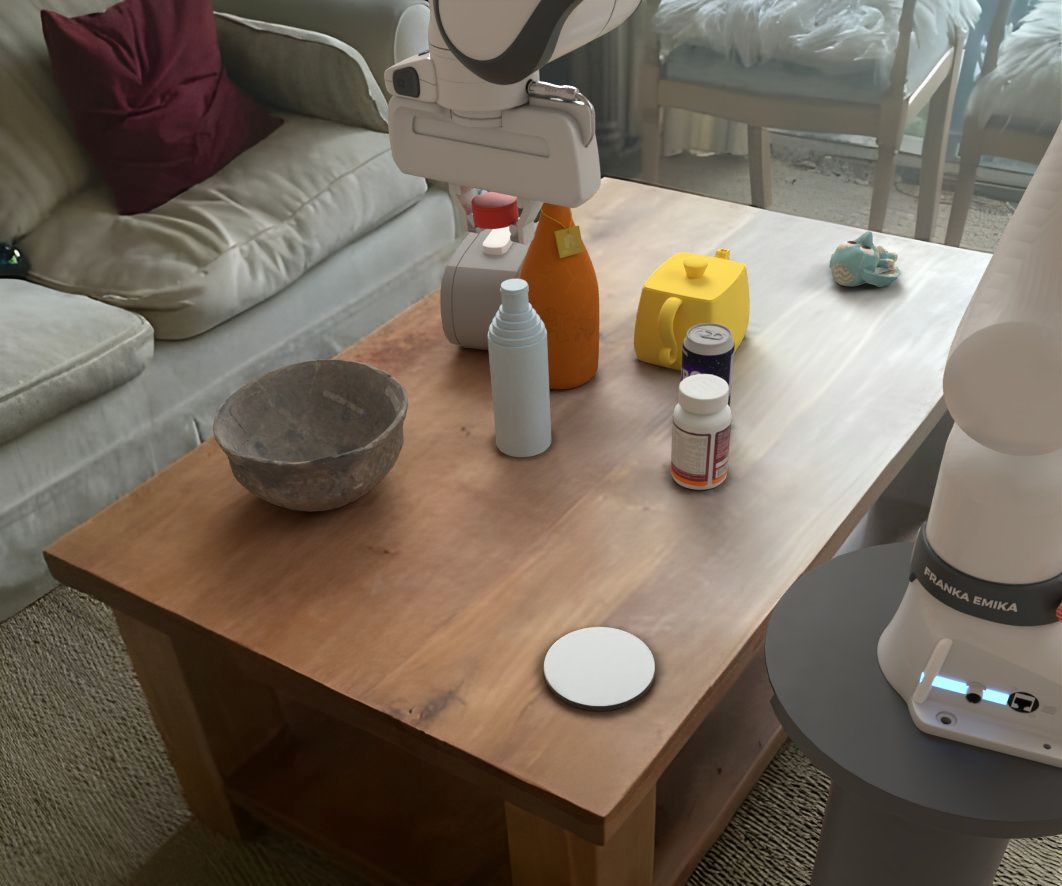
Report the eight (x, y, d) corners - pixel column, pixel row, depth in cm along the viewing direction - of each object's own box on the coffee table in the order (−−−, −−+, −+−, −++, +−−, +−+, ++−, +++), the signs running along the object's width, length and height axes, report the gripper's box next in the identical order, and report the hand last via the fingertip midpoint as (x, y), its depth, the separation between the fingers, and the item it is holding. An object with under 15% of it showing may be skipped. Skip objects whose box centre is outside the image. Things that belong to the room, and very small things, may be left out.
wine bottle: (515, 391, 135) (499, 146, 116) (529, 352, 143) (516, 114, 123) (594, 396, 134) (591, 147, 114) (604, 355, 141) (603, 115, 121)
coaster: (675, 656, 99) (675, 651, 99) (619, 727, 93) (619, 722, 93) (581, 617, 104) (581, 612, 103) (522, 683, 98) (521, 678, 97)
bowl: (270, 428, 132) (252, 354, 125) (436, 436, 129) (427, 361, 122) (203, 535, 116) (179, 457, 110) (391, 548, 113) (377, 468, 107)
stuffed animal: (931, 236, 151) (881, 247, 144) (916, 287, 155) (866, 300, 148) (866, 215, 157) (815, 224, 150) (853, 264, 161) (803, 275, 154)
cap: (517, 209, 99) (516, 188, 98) (519, 226, 96) (517, 205, 95) (473, 214, 100) (471, 193, 98) (473, 231, 96) (471, 210, 95)
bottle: (561, 435, 127) (556, 278, 115) (531, 463, 123) (522, 303, 111) (516, 421, 130) (506, 266, 118) (485, 447, 126) (471, 290, 114)
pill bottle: (716, 455, 123) (722, 367, 116) (734, 487, 118) (743, 396, 111) (663, 464, 122) (666, 375, 115) (679, 496, 118) (684, 405, 110)
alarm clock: (493, 291, 156) (485, 199, 147) (557, 297, 154) (553, 204, 145) (444, 363, 141) (433, 265, 133) (515, 371, 139) (508, 272, 130)
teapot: (681, 301, 151) (685, 218, 144) (766, 318, 146) (775, 234, 139) (617, 368, 138) (617, 281, 131) (708, 390, 134) (714, 301, 126)
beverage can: (688, 409, 130) (693, 317, 123) (734, 419, 128) (742, 326, 121) (671, 433, 127) (675, 340, 119) (718, 444, 125) (726, 350, 117)
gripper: (614, 78, 87) (615, 244, 96) (414, 50, 97) (433, 204, 106) (571, 101, 83) (577, 272, 92) (368, 70, 93) (391, 228, 102)
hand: (498, 235), depth 99 cm, fingers closed on cap, 4 cm apart
